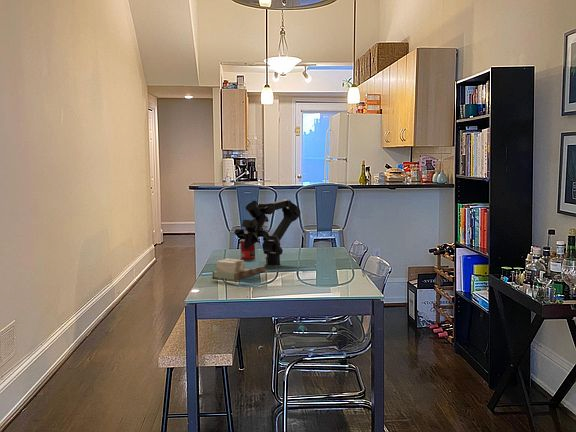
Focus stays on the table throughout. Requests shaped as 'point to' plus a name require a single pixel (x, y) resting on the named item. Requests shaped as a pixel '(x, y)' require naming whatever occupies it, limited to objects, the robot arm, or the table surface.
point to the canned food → (247, 251)
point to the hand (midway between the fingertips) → (244, 248)
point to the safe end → (224, 276)
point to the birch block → (230, 266)
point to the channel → (247, 272)
